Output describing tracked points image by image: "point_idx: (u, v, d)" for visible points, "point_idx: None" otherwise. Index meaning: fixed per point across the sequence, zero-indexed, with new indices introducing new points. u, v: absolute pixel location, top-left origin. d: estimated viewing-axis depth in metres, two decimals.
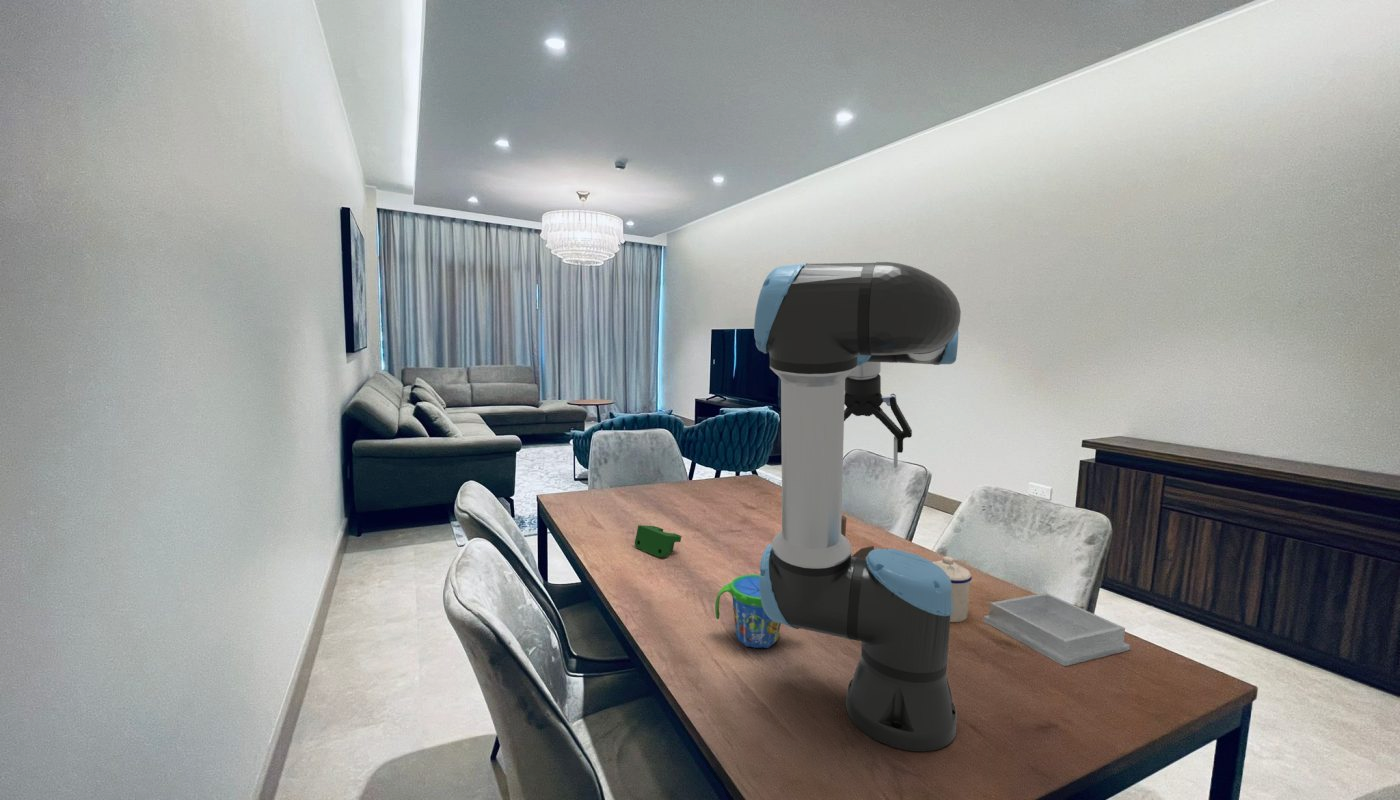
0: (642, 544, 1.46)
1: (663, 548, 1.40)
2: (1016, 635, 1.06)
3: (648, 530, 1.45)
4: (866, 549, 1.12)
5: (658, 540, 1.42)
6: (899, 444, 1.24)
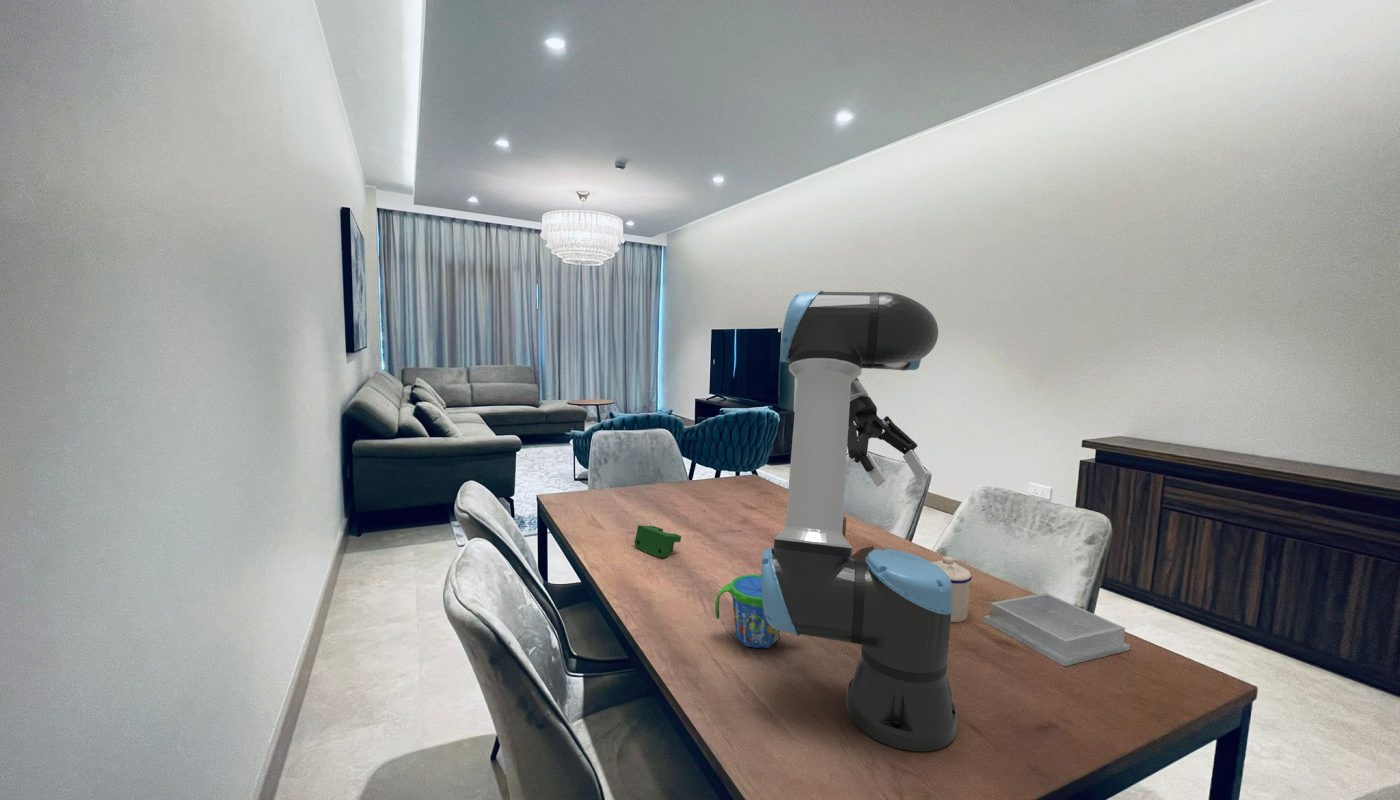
0: (642, 544, 1.46)
1: (663, 548, 1.40)
2: (1016, 635, 1.06)
3: (648, 530, 1.45)
4: (866, 549, 1.12)
5: (658, 540, 1.42)
6: None
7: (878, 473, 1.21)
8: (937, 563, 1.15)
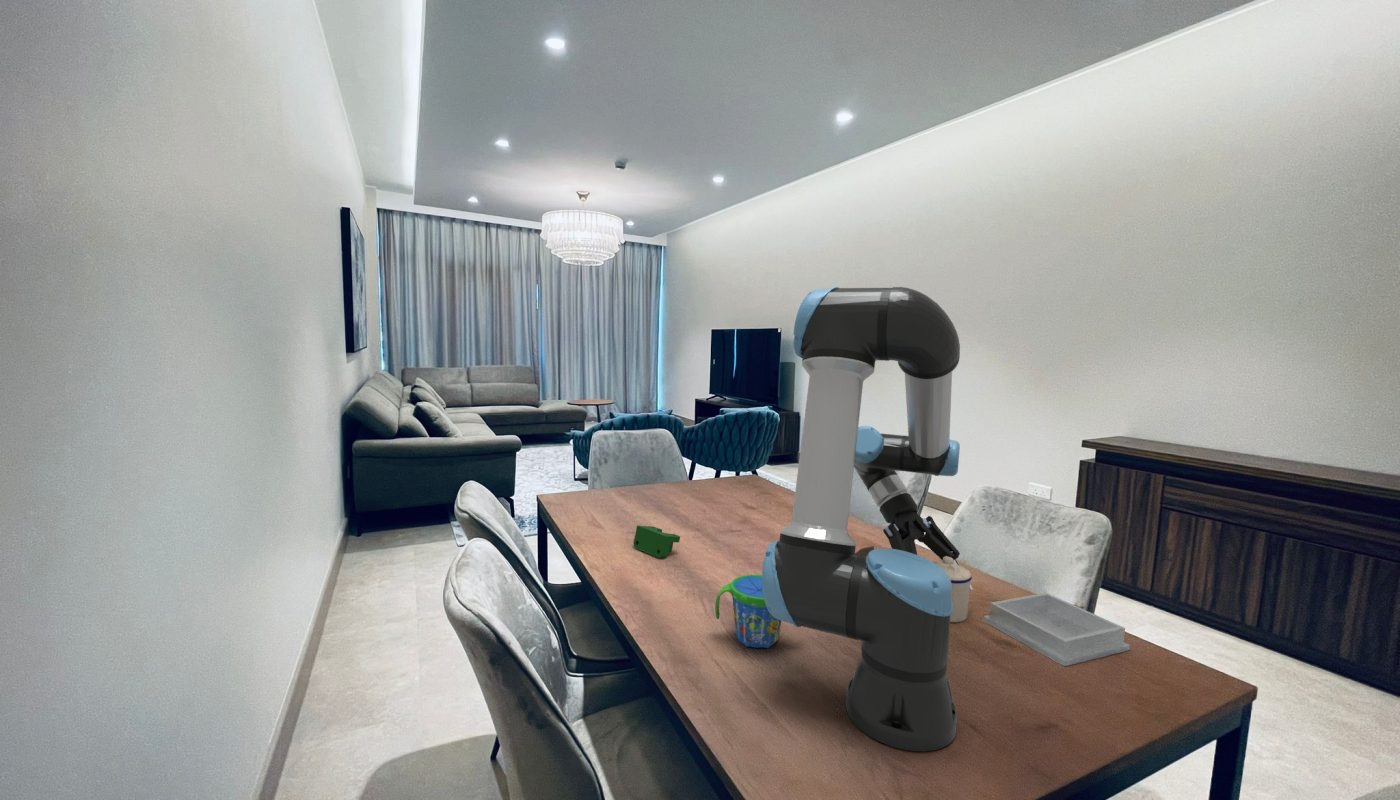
0: (641, 544, 1.45)
1: (662, 548, 1.40)
2: (1016, 635, 1.06)
3: (647, 530, 1.45)
4: (866, 549, 1.12)
5: (657, 540, 1.42)
6: None
7: None
8: (937, 563, 1.15)
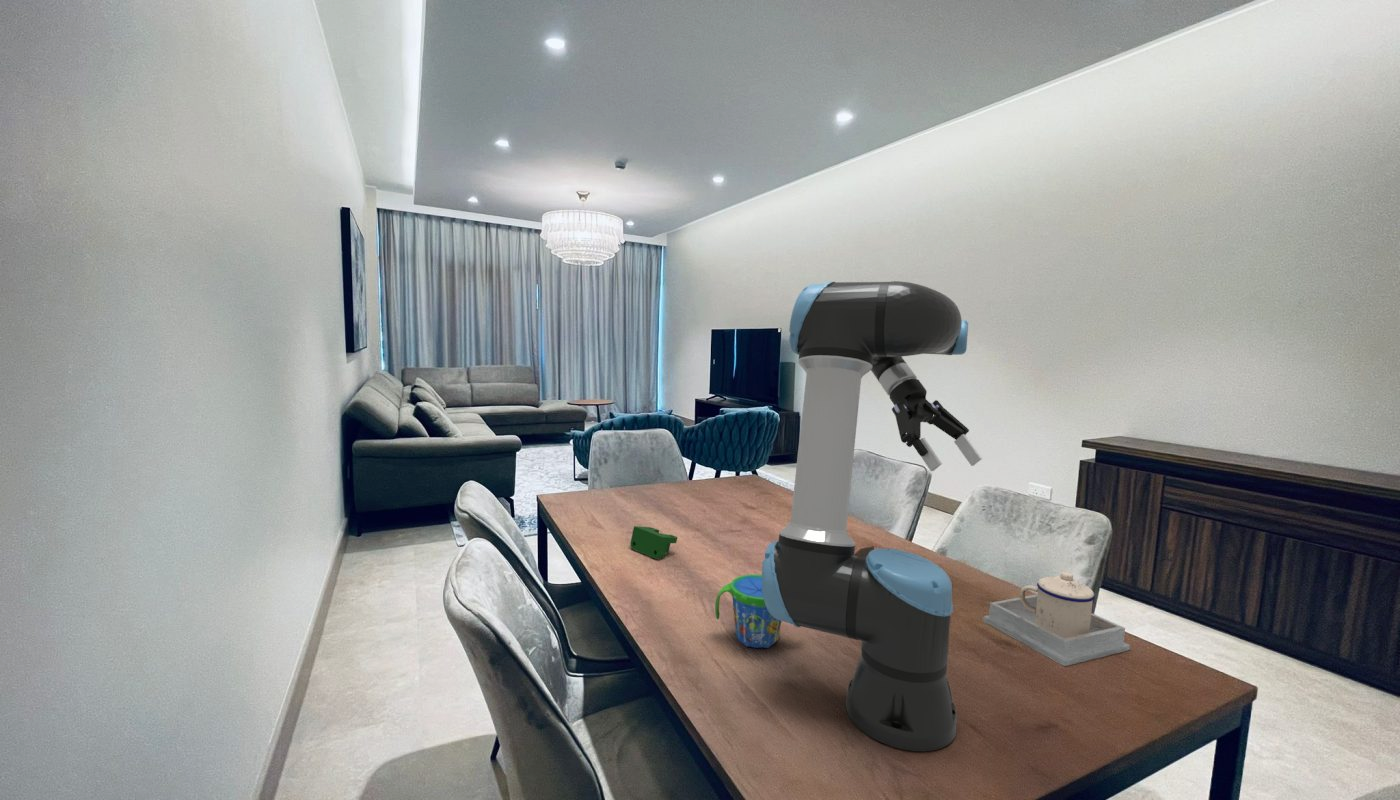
0: (638, 545, 1.45)
1: (659, 549, 1.39)
2: (1016, 635, 1.06)
3: (644, 531, 1.44)
4: (866, 549, 1.12)
5: (654, 541, 1.41)
6: None
7: (933, 457, 1.16)
8: (1054, 579, 1.06)
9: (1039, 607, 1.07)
